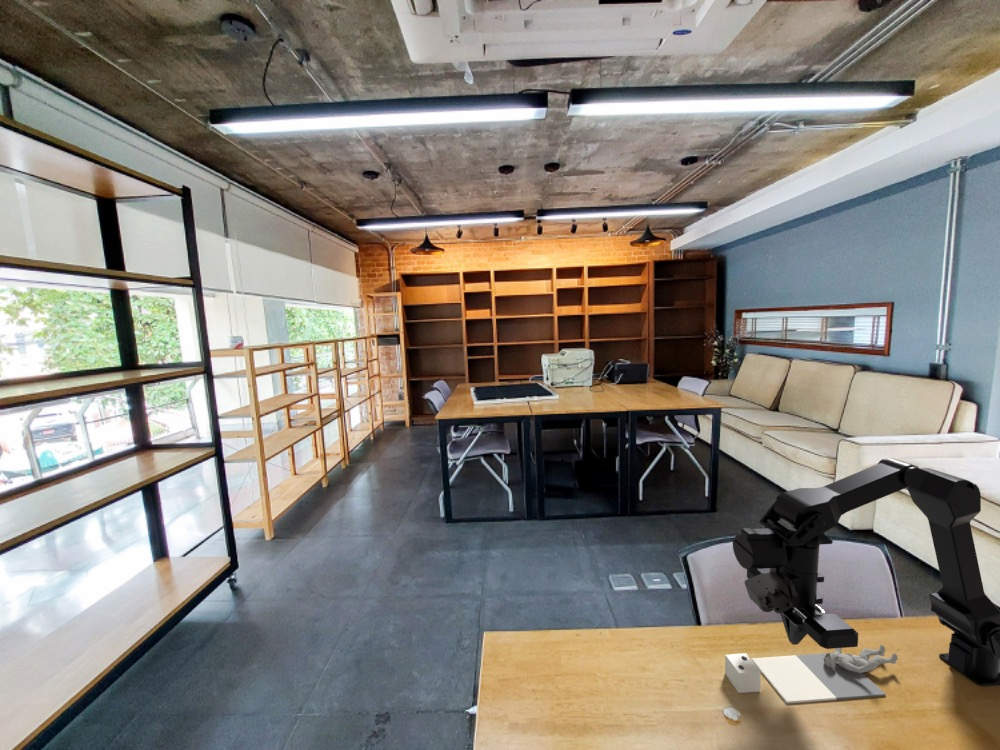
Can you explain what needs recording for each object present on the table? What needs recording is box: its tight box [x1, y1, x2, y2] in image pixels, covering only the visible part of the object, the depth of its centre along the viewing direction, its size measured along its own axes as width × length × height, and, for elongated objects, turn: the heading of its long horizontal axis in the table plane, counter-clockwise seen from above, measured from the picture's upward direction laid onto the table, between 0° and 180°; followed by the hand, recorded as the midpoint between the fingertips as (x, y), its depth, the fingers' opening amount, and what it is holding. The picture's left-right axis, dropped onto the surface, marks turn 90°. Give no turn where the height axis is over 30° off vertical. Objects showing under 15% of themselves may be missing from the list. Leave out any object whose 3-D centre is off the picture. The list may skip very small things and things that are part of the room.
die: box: [724, 652, 762, 694], centre depth 72 cm, size 4×4×4 cm
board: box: [751, 652, 887, 704], centre depth 73 cm, size 18×9×1 cm, turn 92°
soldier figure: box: [824, 644, 898, 674], centre depth 74 cm, size 8×5×12 cm
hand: (793, 643), depth 72 cm, fingers closed
